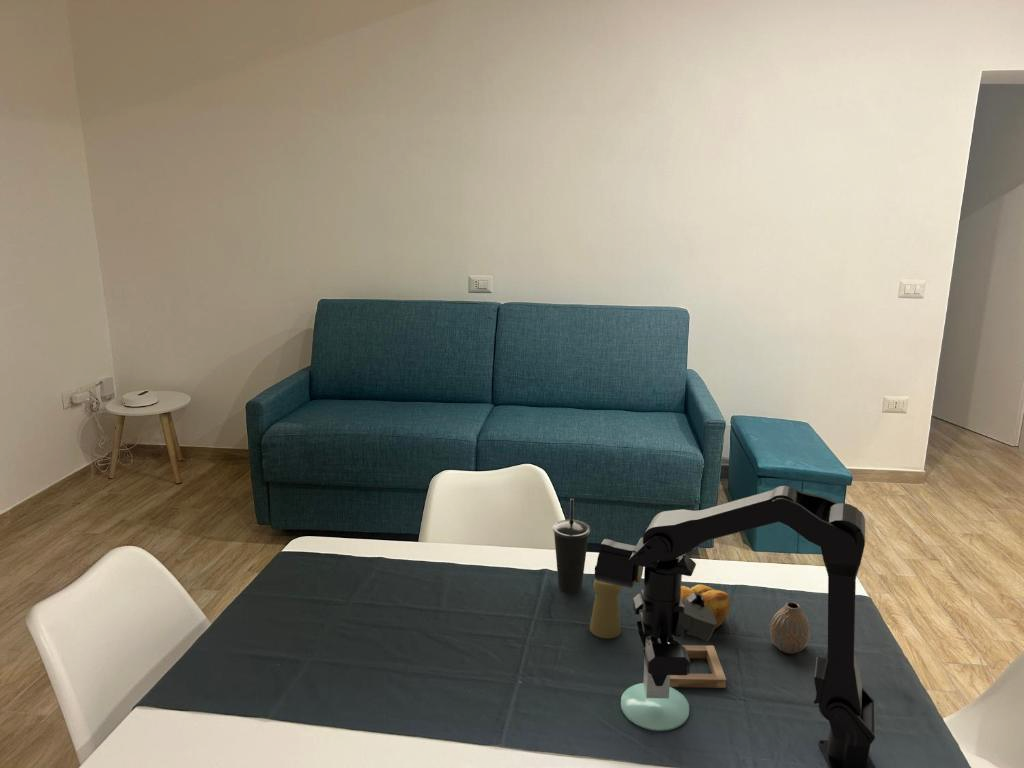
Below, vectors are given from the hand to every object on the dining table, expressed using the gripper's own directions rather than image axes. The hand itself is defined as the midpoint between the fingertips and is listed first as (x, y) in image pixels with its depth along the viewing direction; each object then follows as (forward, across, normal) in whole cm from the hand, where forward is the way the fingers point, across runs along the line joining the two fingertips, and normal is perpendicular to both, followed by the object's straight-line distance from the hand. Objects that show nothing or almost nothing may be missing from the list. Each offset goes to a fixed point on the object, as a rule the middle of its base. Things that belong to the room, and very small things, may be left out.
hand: (657, 677), depth 129 cm
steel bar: (+2, 0, 0) cm, 3 cm away
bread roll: (+6, +26, -11) cm, 28 cm away
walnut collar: (+6, +10, -8) cm, 14 cm away
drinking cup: (+6, +37, +12) cm, 39 cm away
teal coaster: (+6, 0, 0) cm, 6 cm away
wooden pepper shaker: (+6, +22, +6) cm, 24 cm away
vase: (+6, +17, -27) cm, 32 cm away
